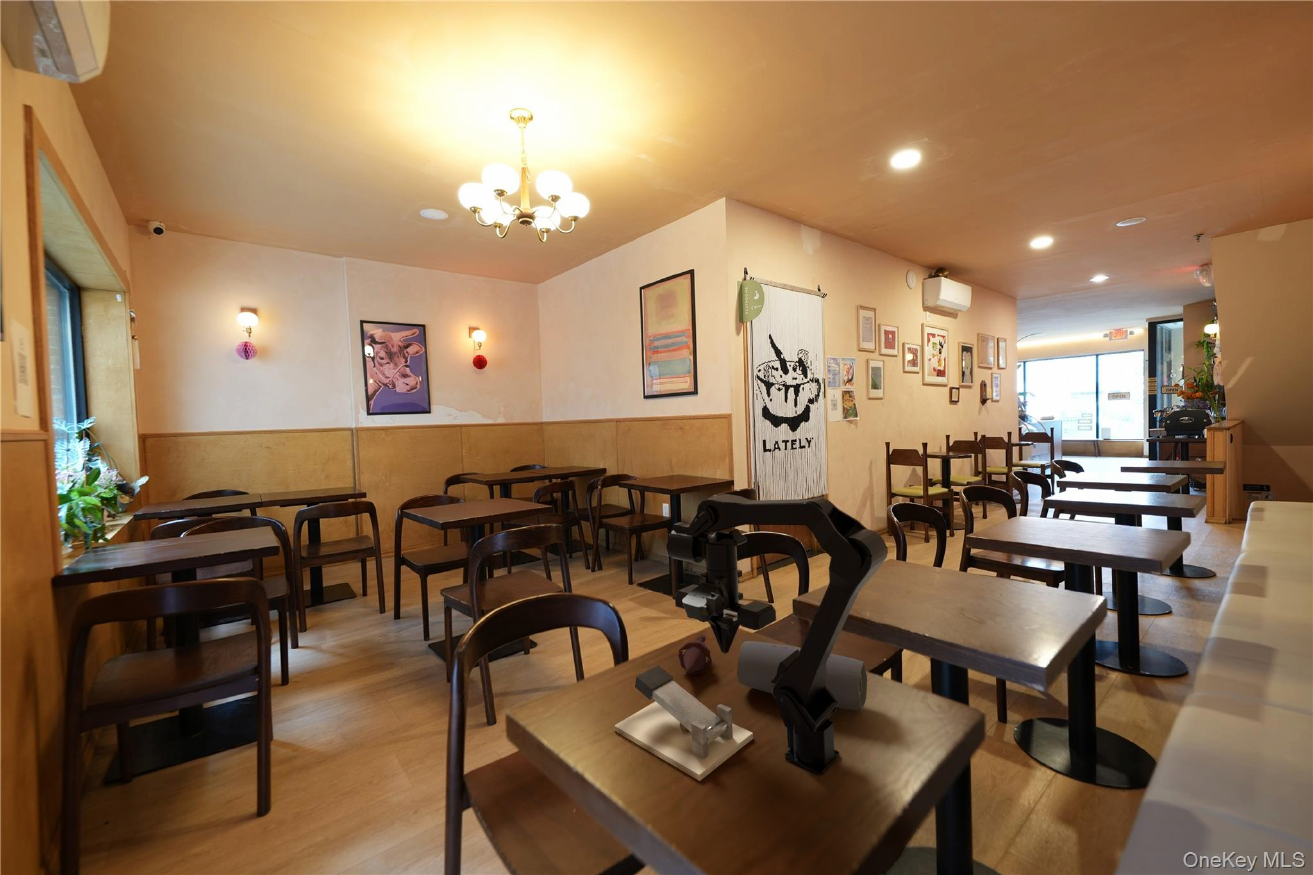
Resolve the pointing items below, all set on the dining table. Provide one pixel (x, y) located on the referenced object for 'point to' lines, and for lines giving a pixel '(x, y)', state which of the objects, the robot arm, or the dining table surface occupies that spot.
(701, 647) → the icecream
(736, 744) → the nutcracker board
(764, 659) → the bluetooth speaker
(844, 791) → the dining table surface
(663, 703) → the lever
